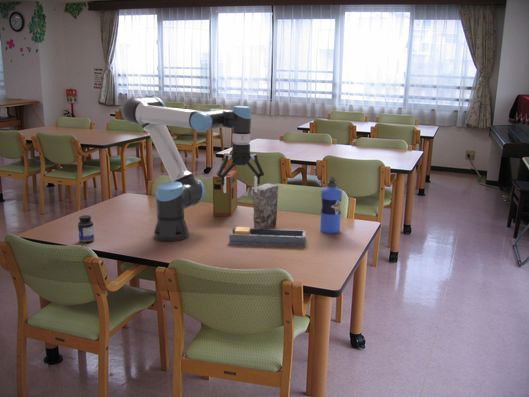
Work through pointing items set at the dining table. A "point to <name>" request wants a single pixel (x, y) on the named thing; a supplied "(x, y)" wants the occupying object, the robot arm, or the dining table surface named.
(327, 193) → the water bottle
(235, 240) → the chute
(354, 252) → the dining table surface
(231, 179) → the box
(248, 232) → the block
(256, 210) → the stone block
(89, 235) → the pill bottle
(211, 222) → the dining table surface
